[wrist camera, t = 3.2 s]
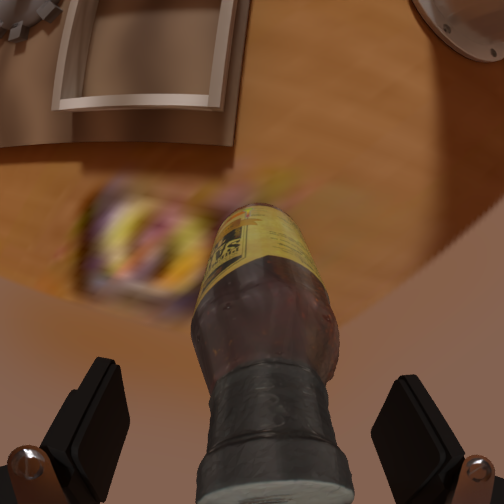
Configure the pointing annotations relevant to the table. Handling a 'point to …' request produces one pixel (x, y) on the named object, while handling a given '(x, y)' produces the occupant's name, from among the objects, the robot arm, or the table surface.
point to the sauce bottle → (267, 368)
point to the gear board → (120, 70)
